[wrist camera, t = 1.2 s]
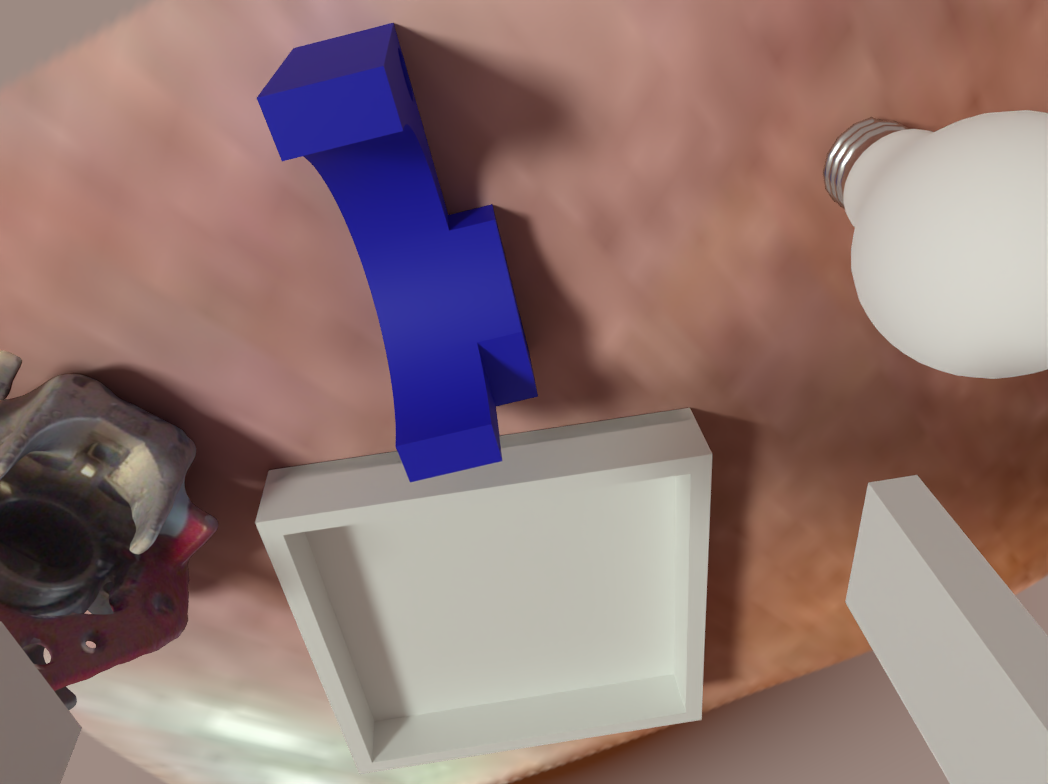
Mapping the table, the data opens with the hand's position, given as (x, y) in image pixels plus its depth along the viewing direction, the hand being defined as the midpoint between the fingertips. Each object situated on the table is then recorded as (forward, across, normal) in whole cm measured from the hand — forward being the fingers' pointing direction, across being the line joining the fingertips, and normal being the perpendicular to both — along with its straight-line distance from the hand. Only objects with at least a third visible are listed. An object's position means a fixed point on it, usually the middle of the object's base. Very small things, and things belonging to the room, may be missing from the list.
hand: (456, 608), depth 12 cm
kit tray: (+16, 0, +18) cm, 24 cm away
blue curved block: (+17, 0, 0) cm, 17 cm away
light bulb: (+17, -14, 0) cm, 22 cm away
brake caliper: (+17, +15, +8) cm, 24 cm away
